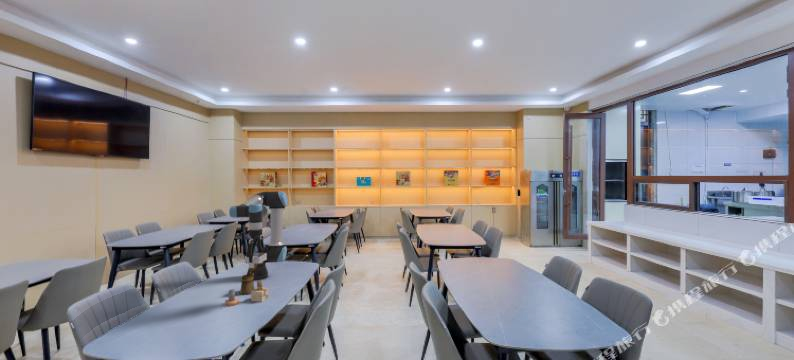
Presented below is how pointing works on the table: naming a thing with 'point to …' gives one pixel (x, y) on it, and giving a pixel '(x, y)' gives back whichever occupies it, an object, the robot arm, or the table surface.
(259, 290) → the stand
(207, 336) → the table surface
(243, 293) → the wooden mug
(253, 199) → the robot arm
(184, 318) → the table surface
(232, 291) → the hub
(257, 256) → the square metal nut
